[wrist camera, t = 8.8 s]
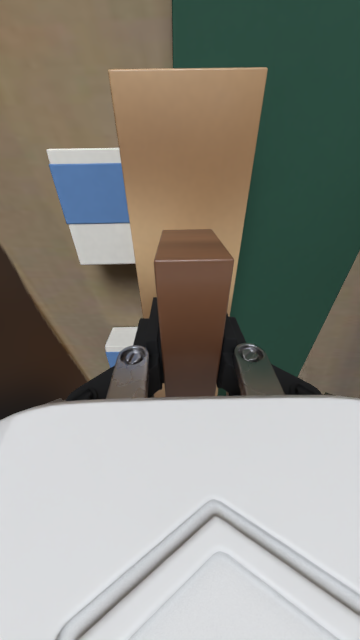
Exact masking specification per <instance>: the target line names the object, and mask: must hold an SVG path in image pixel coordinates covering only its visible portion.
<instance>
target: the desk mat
mask: <svg viewBox="0 0 360 640" xmlns="http://www.w3.org/2000/svg"><path fill="white" fill-rule="evenodd" d="M172 29H173V68H248V67H267V68H268V71H267V78H266V84H265V91H264V97H263V104H262V110H261V117H260V123H259V130H258V136H257V143H256V149H255V155H254V162H253V168H252V175H251V181H250V188H249V194H248V201H247V207H246V214H245V220H244V227H243V233H242V239H241V246H240V252H239V259H238V265H237V272H236V278H235V285H234V291H233V298H232V304H231V311H230V317H235V318H236V320H237V323H238V325H239V327H240V329H241V332H242V334H243V336H244V338H245V341H246V343H252V344H255V345H257V346H259V347H261V348H262V349H263V350H264V351H265V353H266V354H267V356H268V359H269V361H270V363H271V364H273V365H274V366H276V367H278V368H280V369H282V370H284V371H286V372H288V373H290V374H292V375H294V376H296V377H298V375H299V373H300V370H301V368H302V366H303V364H304V362H305V360H306V358H307V356H308V354H309V352H310V350H311V348H312V346H313V344H314V342H315V340H316V338H317V336H318V334H319V332H320V330H321V328H322V326H323V324H324V322H325V320H326V318H327V316H328V313H329V311H330V309H331V307H332V305H333V303H334V301H335V299H336V297H337V295H338V293H339V291H340V289H341V287H342V285H343V283H344V281H345V279H346V277H347V275H348V273H349V271H350V269H351V267H352V265H353V263H354V261H355V258H356V256H357V254H358V252H359V250H360V0H172ZM226 392H227V391H225V390H224V389H223V388H218V395H217V396H226Z"/></svg>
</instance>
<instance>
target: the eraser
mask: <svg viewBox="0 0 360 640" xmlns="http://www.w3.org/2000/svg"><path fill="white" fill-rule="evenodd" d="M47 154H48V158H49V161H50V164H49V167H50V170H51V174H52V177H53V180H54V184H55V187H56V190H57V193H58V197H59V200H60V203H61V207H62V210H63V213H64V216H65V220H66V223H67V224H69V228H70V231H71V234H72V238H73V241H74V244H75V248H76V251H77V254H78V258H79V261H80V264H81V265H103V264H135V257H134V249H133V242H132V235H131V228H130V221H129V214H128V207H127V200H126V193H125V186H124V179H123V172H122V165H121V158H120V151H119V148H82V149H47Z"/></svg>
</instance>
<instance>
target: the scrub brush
mask: <svg viewBox="0 0 360 640" xmlns="http://www.w3.org/2000/svg"><path fill="white" fill-rule="evenodd" d="M267 71H268V68H267V67H248V68H166V69H109V70H108V74H109V81H110V88H111V95H112V102H113V109H114V116H115V123H116V130H117V137H118V144H119V151H120V158H121V165H122V172H123V179H124V186H125V193H126V200H127V207H128V214H129V221H130V228H131V235H132V242H133V249H134V257H135V264H136V271H137V278H138V285H139V292H140V299H141V306H142V313H143V318H149V316H150V311H151V306H152V301H153V297H157V306H158V317H159V329H160V340H161V351H162V362H163V373H164V383H163V384H162V390H158V391H157V392H156V393H155V394H154V396H155V398H157V397H198V396H217V395H218V388H217V377H218V371H219V364H220V357H221V350H222V343H223V336H224V329H225V322H226V315H227V314H228V316H229V317H230V311H231V304H232V298H233V291H234V285H235V278H236V272H237V265H238V259H239V252H240V246H241V239H242V233H243V227H244V220H245V214H246V207H247V201H248V194H249V188H250V181H251V175H252V168H253V162H254V155H255V149H256V143H257V136H258V130H259V123H260V117H261V110H262V104H263V97H264V91H265V84H266V78H267Z"/></svg>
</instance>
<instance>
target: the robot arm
mask: <svg viewBox="0 0 360 640" xmlns="http://www.w3.org/2000/svg"><path fill="white" fill-rule="evenodd" d="M163 383H164V373H163V362H162V351H161V340H160V329H159V317H158V306H157V297H153V301H152V306H151V311H150V316H149V318H143V319H140V321H139V324H138V328H137V332H136V336H135V340H134V343H133V346H129V347H126V348H124V349H123V350H121V351H120V352H119V354H118V356H117V360H116V363H115V366H113V367H111V368H110V369H108V370H106V371H105V372H103V373H102V374H100V375H98V376H97V377H95V378H93V379H92V380H90V381H89V382H87V383H85V384H84V385H82V386H80V387H79V388H77V389H76V390H75V391H73V392H72V393H71V394H70V395H69V396H68V397H67V399H65V400H63V401H62V399H61V398H60V399H57V400H55V401H52V402H49V403H46V404H44V405H41V406H37V407H33V408H30V409H27V410H24V411H21V412H18V413H15V414H13V415H11V416H8V417H6V418H4V419H2V420H0V640H360V398H354V397H346V396H336V395H333V394H329V393H326V392H325V394H324V395H323V394H321V392H320V391H319V390H318V389H317V388H315V387H314V386H312V385H311V384H309V383H307V382H305V381H303V380H301V379H299V378H297V377H296V376H294V375H292V374H290V373H288V372H286V371H284V370H282V369H280V368H278V367H276V366H274V365H273V364H271V363H270V361H269V359H268V356H267V354H266V353H265V351H264V350H263V349H262V348H261V347H259V346H257V345H255V344H252V343H246V341H245V338H244V336H243V334H242V332H241V329H240V327H239V325H238V323H237V320H236V318H235V317H229V316H228V314H227V315H226V322H225V329H224V336H223V343H222V350H221V357H220V364H219V371H218V377H217V388H223V389H224V390H225V391H227V392H226V396H198V397H157V398H155V396H154V394H155V393H156V392H157V391H158V390H162V384H163Z"/></svg>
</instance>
